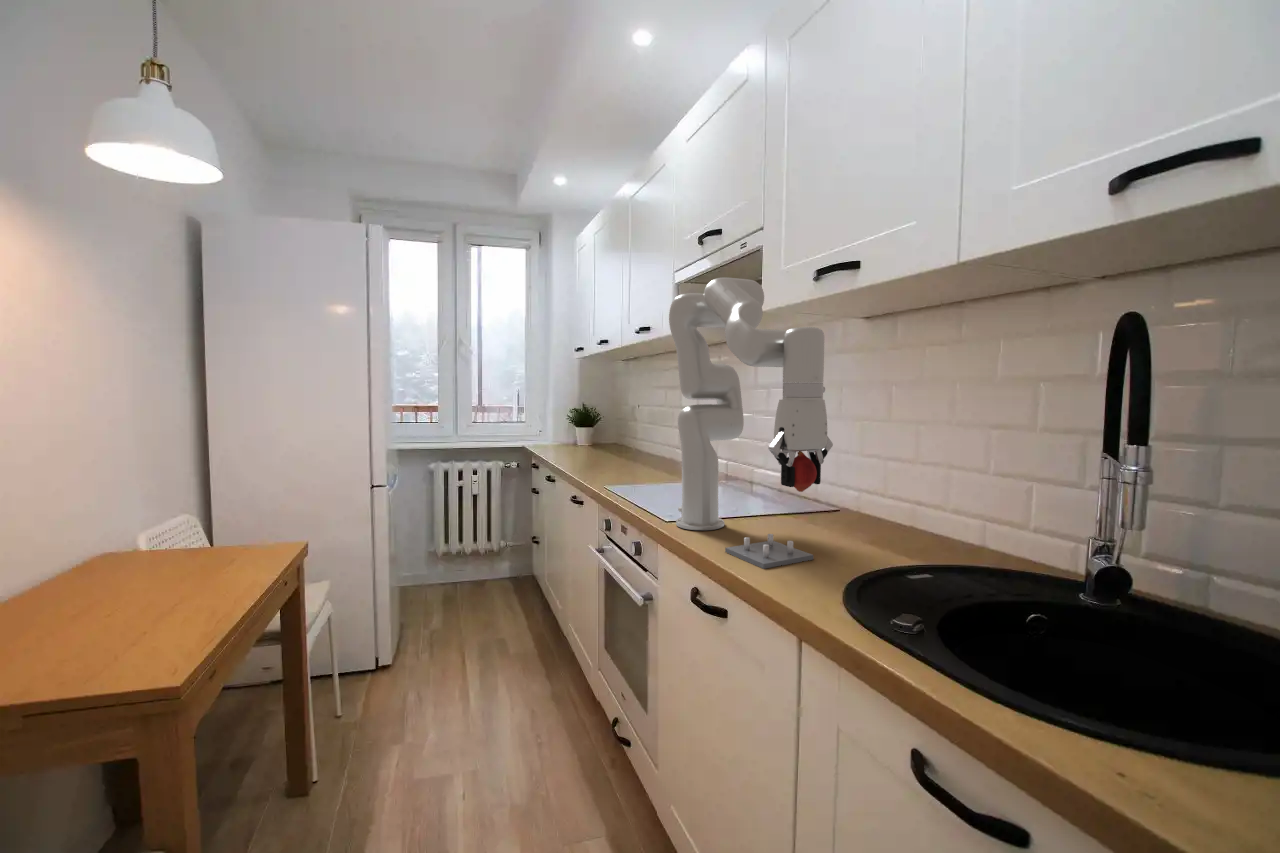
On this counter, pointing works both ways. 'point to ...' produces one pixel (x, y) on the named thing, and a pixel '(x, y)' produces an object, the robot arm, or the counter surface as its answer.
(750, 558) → the pin tray
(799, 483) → the onion
